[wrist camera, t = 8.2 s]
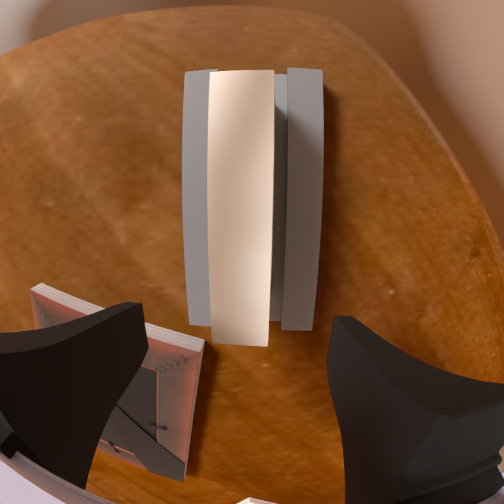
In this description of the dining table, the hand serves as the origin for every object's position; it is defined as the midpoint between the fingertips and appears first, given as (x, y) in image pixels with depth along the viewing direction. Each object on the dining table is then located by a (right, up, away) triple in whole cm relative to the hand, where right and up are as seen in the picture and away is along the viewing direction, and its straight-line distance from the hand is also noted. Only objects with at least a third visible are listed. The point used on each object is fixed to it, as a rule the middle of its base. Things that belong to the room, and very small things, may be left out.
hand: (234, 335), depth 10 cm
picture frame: (-13, -12, +14) cm, 23 cm away
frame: (+1, +6, +7) cm, 9 cm away
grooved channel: (+1, +6, +8) cm, 10 cm away
